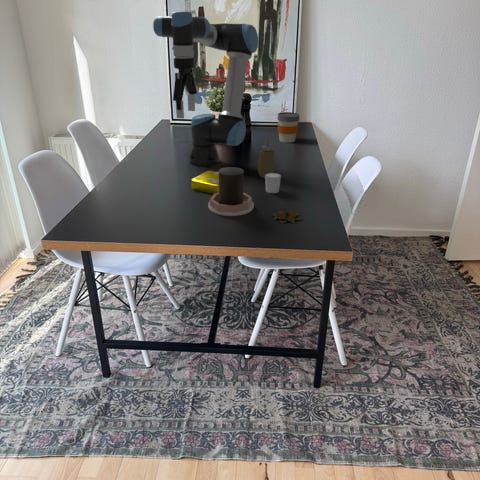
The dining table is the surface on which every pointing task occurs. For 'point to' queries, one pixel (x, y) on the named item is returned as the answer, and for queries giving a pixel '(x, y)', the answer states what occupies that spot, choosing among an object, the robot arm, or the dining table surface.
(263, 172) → the squeeze bottle
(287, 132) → the reusable coffee cup
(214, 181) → the yellow square box
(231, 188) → the pillar candle
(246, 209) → the pink round shallow dish
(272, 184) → the shot glass
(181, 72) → the robot arm
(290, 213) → the succulent plant
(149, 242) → the dining table surface
